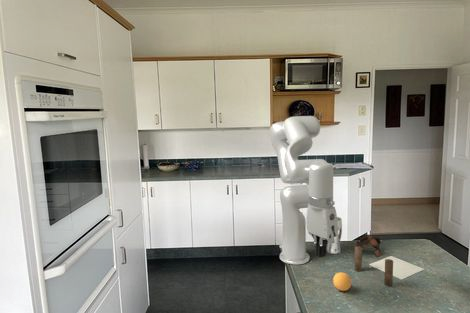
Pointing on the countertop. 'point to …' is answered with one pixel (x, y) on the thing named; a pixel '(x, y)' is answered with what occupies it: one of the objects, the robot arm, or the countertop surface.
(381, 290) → the countertop surface
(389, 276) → the post right
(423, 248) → the countertop surface
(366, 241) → the reddish brown arched figurine
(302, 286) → the countertop surface
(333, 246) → the beer glass
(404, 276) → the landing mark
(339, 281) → the ball
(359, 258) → the post left
